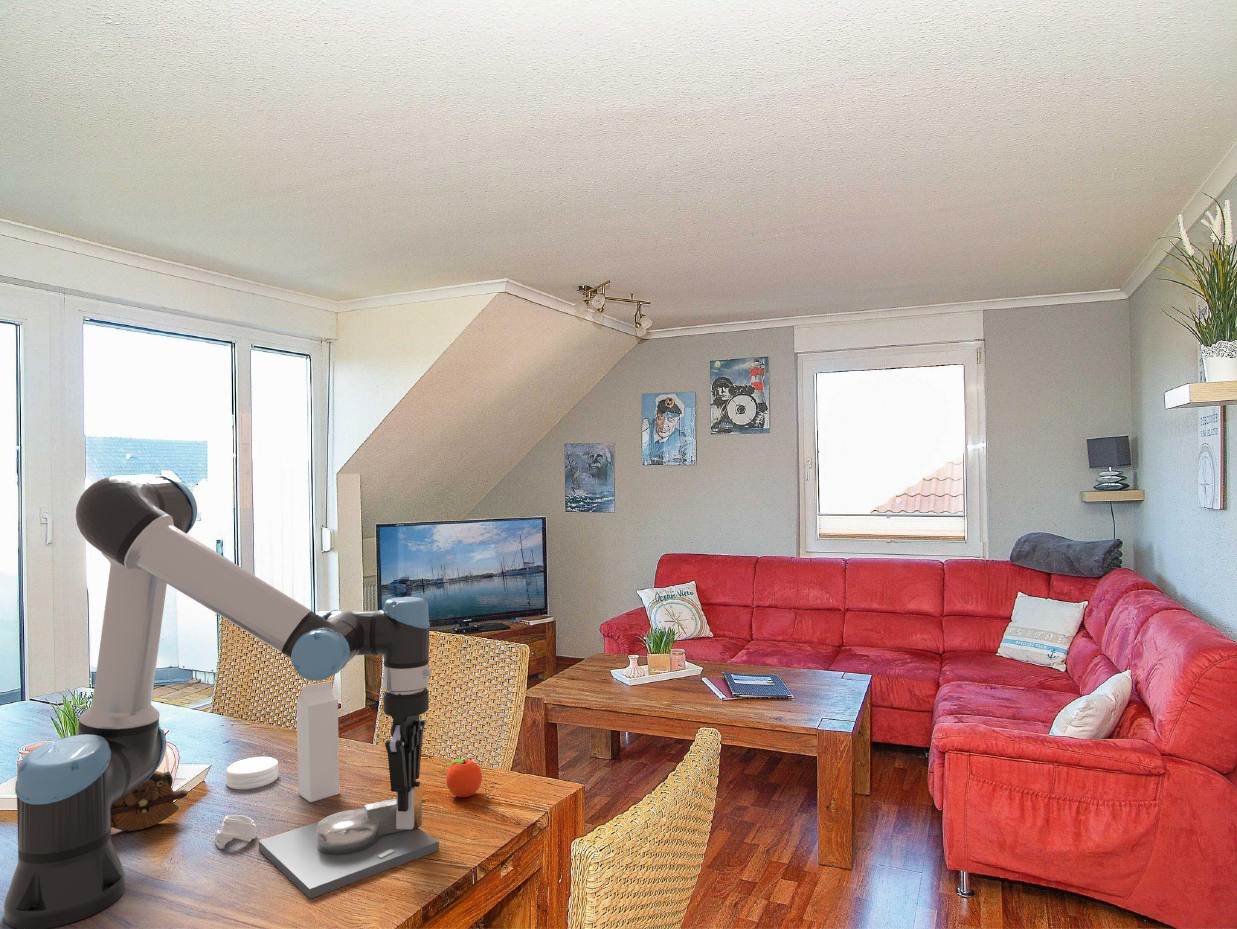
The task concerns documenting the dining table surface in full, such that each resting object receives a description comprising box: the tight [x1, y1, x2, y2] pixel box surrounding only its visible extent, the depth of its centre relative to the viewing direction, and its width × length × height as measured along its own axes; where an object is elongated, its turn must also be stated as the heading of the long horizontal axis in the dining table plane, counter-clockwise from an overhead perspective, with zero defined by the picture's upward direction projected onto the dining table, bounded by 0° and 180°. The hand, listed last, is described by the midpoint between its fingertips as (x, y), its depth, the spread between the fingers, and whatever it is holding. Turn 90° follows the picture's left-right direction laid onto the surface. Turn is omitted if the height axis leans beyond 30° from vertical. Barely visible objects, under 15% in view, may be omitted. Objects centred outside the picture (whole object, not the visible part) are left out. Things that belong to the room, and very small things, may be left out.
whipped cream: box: [214, 814, 257, 850], centre depth 143 cm, size 8×7×5 cm
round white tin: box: [225, 756, 280, 790], centre depth 170 cm, size 10×10×4 cm
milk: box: [296, 680, 340, 803], centre depth 162 cm, size 6×6×22 cm
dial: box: [317, 780, 423, 854], centre depth 140 cm, size 18×10×7 cm, turn 117°
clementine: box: [443, 759, 483, 798], centre depth 161 cm, size 8×7×7 cm
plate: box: [258, 806, 440, 900], centre depth 139 cm, size 22×22×2 cm
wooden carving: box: [111, 770, 189, 832], centre depth 148 cm, size 16×5×10 cm, turn 123°
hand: (405, 827), depth 139 cm, fingers closed
